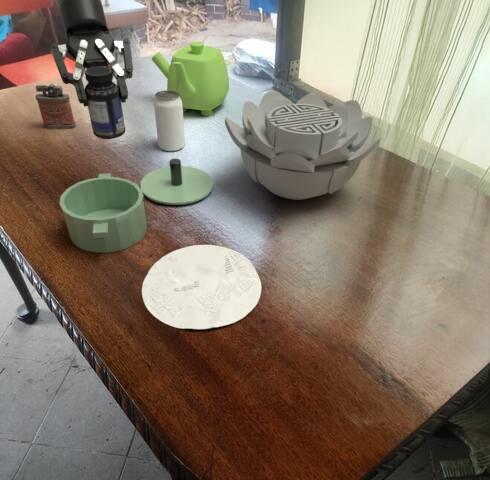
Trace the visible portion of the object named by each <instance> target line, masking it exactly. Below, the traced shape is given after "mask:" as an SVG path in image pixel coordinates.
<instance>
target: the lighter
mask: <svg viewBox="0 0 490 480" xmlns="http://www.w3.org/2000/svg"><path fill="white" fill-rule="evenodd" d="M35 91H36V92H37V93H38V94H35V96H34V97H35V101H37V102H36V103H37V105H38V108H39V109H38V110H39V112H40V116H41V119H42V125H43V128H45V129H49V130H50V129H51V130H71V129H75V128H77V123H76V121H75V119H74V114H73V110H72V106H71V102H70V95H69V94H67V93H64V92H63V91H64V90H63V86H62V85H56V84H54V83H50V84H49V85H46V84H36V85H35ZM41 92H42V93H41Z"/></svg>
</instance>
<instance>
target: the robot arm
mask: <svg viewBox="0 0 490 480" xmlns="http://www.w3.org/2000/svg"><path fill="white" fill-rule="evenodd" d="M56 3H57V8H58V11H59V14H60V18H61V22H62V26H63V29H64V32H65V37H66V39H65V40H66V41H65V43H62V44H57V43H56V42H51V43H50V44H49V45H50V52H51V56H52V58H53V61H54V63H55V65H56V68H57V71H58V73H59V76H60V79H61V81H62V83H63V84H64V85H68V84H69V85H73V86H74V90H75V93H76V96H77V97H76V98H77V100H78V102H79V104H80V105H81V104H83V107H88V101H87V97H86V93H85V86H84V82H83V77H84V76H85V70H86V69H88V68H91V67H98V66H102V67H108V68H110V69H111V70H112V74H113V78H114V79H115V80H116V85H117V86H118V88H119V92H120V98H121V104H124V103H126V102H127V100H128V98H129V90H128V89H129V88H128V85H127V81H126V80H127V79H129V80H130V79H132V78H133V72H134V64H133V57H132V50H131V49H132V48H131V42H130V40H129V38H126V37H125V38H123V39H122V40H114V38H113V37H112V36H111V34H110V30H109V26H108V22H107V19H106V15H105V12H104V6H103V3H102V0H56ZM115 50H117V51H118V54H119V55H120V56H122V57H123V63H124V67H123V68H122V67H121V66H120V64H119V63H118V62H117V59H116V58H115V57H114V55H113V54H114V52H115ZM66 54H69V55H70V56H71V57H72V58H73V59H74V60H75V63H74V68H73V73H72V72H70V71H68V69H67V66H66V63H65V61H64V60H66V58H67V57H66Z"/></svg>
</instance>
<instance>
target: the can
mask: <svg viewBox="0 0 490 480" xmlns="http://www.w3.org/2000/svg"><path fill="white" fill-rule="evenodd" d="M153 108H154V118H155V127H156V134H157V136H156V137H157V143H158V147H159V148H160V149H161V150H162V151H165V152H178V151H181V150H182V149H184V147H185V145H186V141H185V140H186V139H185V125H184V124H185V123H184V111H183V108H182V100H181V98H180V94H179V93H178V92H176V91H171V90H167V89H166V90H160V91H158V92H156V93H155V94H154V100H153Z"/></svg>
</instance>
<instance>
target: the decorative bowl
mask: <svg viewBox="0 0 490 480" xmlns="http://www.w3.org/2000/svg"><path fill="white" fill-rule="evenodd" d="M241 115H242V119H241V122H242V126H243V127H242V126H240V125H238V123H236V122H234V121H233V120H232V119H230V118H229V117H228V116H226V117H224V119H225V120H224V126H225V127H226V130H227V132H228V134H229V137H230V138H231V140H232V141H233V143H234V144H235V145H236V147H238V149H239V150H240V155H241V159H242V161H243V165H244V167H245V170H246V171H247V173H248V174H249V176H250V177H251V179H252V180H254V182H255V183H256V184H257V183H260V185H262V186H263V187H264V188H266V189H267V190H268V191H269V192H270V193H272V194H273V195H276V196H277V197H281V198H284V199H289V200H297V201H298V200H299V201H300V200H307V199H311V198H315V197H320V196H323V195H325V194H328V193H329V194H330V195H332V194H333V193H335V192H337V191H338V190H340V189H341V188H342V187H344V186H345V185H346V184H347V183H348V182H349V181H350V180H351V178H352V177H353V176H354V174H355V173H356V172H357V170H358V168H359V166H360V164H361V162H362V161H363V160H364V159H366V158H367V157H368V156H369V155H370V154H371V153H372V152H374V151H375V150H376V148H377V147H379V146H380V142H381V139H382V137H379V138H377V139H376V140H373V141H370V142H369V143H368V142H367V143H366V141H367V140H368V138H369V136H370V133H371V131H372V130H371V129H372V126H373V121H374V117H373V116H366V117H363V118H362V115H363V114H362V107H361V105H360V103H359V101H358V100H357V99H350V100H347V101H344V102H342V103H335V104H332V105H330V106H327V103H326V102H325V100H324V98H322V97H321V95H319V94H318V93H316V92H310V93H307V94H305V95H304V96H302V97H301V98H300V99H299V100H298V101H296V103H294V102H293V101H291V100H290V98H288V97H285V95H283V94H282V93H280V91H277V90H274V89H270V90H268V91H267V92H266V93H265V94H264V95H263V97H262V98H261V100H260V102H259V104H258V105H256V104H255V103H253V102H252V101H247V100H246V101H244V103H243V106H242V114H241ZM365 143H366V144H365Z"/></svg>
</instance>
